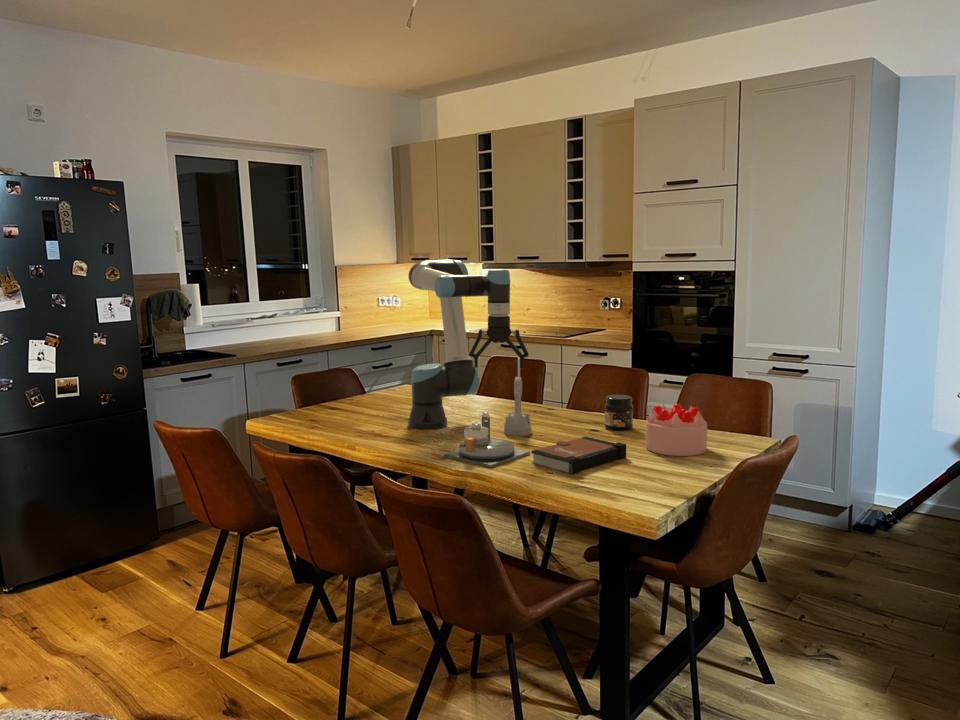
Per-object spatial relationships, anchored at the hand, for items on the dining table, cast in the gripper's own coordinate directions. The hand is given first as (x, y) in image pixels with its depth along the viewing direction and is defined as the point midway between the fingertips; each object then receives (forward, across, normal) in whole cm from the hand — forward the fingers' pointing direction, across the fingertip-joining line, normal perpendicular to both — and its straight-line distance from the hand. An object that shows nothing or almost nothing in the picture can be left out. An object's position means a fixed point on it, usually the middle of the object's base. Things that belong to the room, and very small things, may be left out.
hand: (499, 377), depth 249 cm
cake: (+23, +60, -4) cm, 64 cm away
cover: (+20, -7, -13) cm, 25 cm away
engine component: (+24, +6, +17) cm, 30 cm away
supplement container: (+24, +43, +24) cm, 55 cm away
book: (+24, +26, -20) cm, 41 cm away
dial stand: (+22, -4, -6) cm, 23 cm away
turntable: (+22, -3, -16) cm, 27 cm away
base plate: (+23, -3, -16) cm, 28 cm away
